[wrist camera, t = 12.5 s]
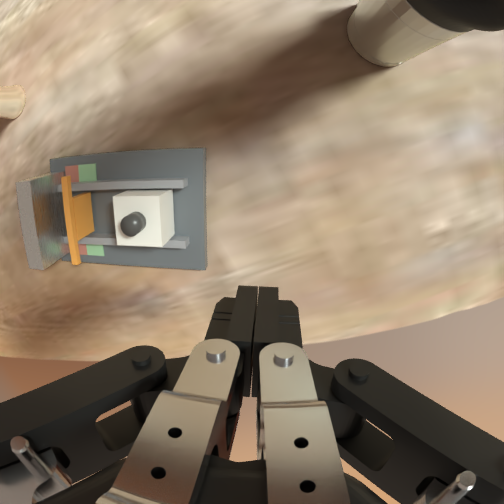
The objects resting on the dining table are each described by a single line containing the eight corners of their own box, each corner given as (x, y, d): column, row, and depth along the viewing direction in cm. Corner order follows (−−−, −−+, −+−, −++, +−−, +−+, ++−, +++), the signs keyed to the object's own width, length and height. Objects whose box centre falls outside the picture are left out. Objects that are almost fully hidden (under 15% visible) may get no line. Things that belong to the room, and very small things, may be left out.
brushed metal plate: (50, 172, 38) (15, 182, 31) (65, 171, 38) (30, 180, 31) (59, 248, 43) (29, 268, 35) (73, 249, 42) (43, 270, 35)
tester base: (55, 158, 39) (41, 161, 36) (205, 147, 38) (199, 148, 34) (66, 256, 45) (55, 265, 41) (207, 265, 43) (202, 276, 40)
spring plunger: (130, 189, 38) (104, 200, 32) (172, 188, 38) (152, 199, 32) (133, 232, 40) (109, 250, 34) (174, 234, 40) (156, 253, 34)
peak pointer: (83, 171, 38) (61, 177, 33) (89, 170, 38) (66, 176, 32) (91, 250, 42) (72, 264, 37) (97, 250, 42) (78, 265, 37)
